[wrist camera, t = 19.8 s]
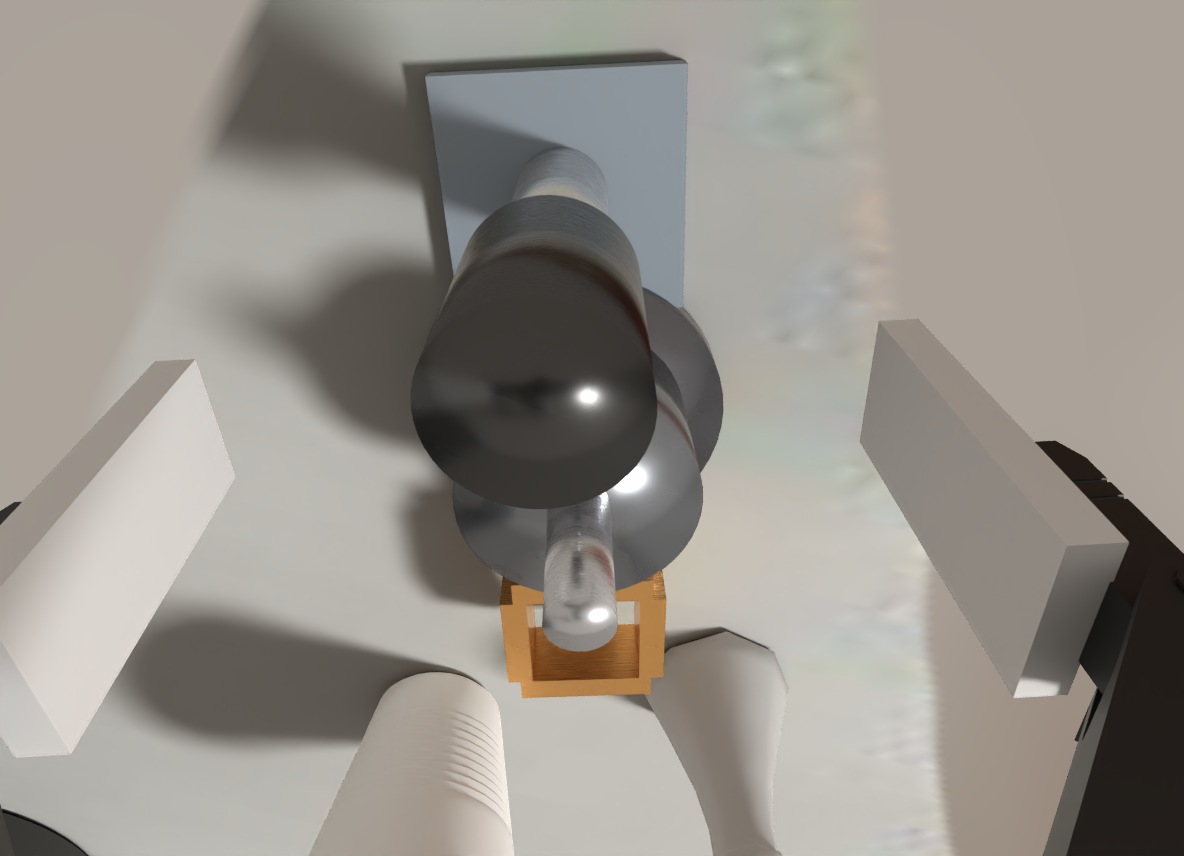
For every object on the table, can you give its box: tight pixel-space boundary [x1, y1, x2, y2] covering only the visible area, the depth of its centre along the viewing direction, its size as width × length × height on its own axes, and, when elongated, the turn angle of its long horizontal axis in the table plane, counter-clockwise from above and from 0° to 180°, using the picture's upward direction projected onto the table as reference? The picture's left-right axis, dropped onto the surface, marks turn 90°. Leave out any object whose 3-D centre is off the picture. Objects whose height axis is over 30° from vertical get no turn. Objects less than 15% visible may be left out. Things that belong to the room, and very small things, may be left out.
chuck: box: [453, 350, 703, 698], centre depth 27 cm, size 16×8×10 cm, turn 1°
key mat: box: [425, 60, 688, 308], centre depth 27 cm, size 8×8×1 cm
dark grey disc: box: [642, 287, 723, 473], centre depth 31 cm, size 11×11×2 cm
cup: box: [309, 672, 514, 856], centre depth 36 cm, size 10×10×11 cm
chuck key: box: [411, 147, 657, 509], centre depth 20 cm, size 4×4×14 cm
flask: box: [644, 631, 788, 856], centre depth 36 cm, size 7×7×10 cm
